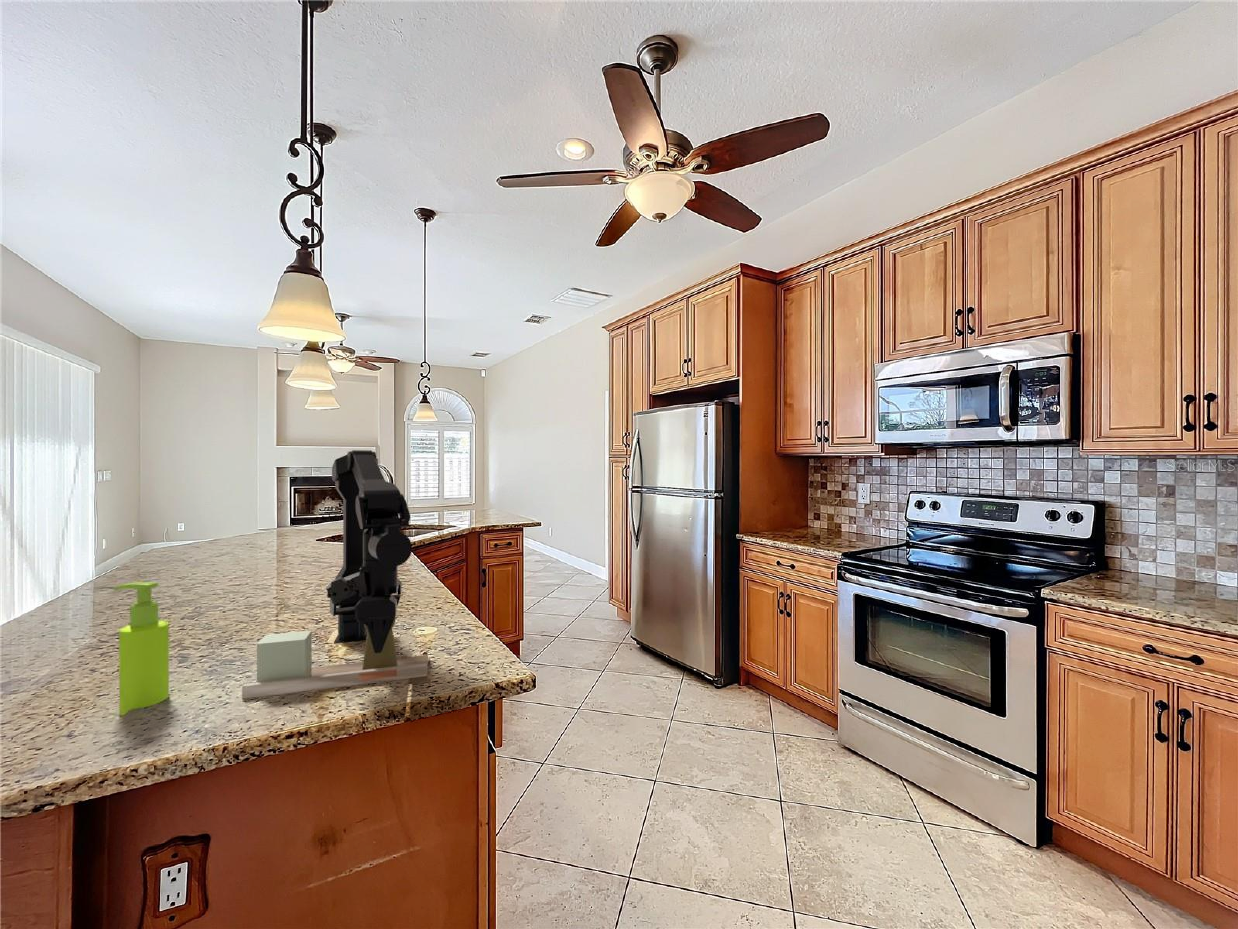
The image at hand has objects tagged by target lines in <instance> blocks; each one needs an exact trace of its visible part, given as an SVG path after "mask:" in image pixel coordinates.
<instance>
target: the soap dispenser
mask: <svg viewBox="0 0 1238 929" xmlns="http://www.w3.org/2000/svg"><path fill="white" fill-rule="evenodd" d="M156 587H159V582H157V581H156V582H155V581H153V582H152V581H135V582H134V581H133V582H130V583H125V584H120V585H118V586H117V585H116V586H114V587H113V588H112V590H114V591H117V590H123V589H136V595H137V596H136V599H137V600H136V602H134V603H133V604H130V606H129V624H128V625H126V626H124V627H122V628H119V630H118V632H119V633H118V635H119V636H118V637H119V638H118V643H119V644H118V652H119V653H118V659H119V664H118V666H119V673H118V674H119V678H118V679H119V682H118V683H119V685H118V686H119V688H118V691H119V698H118V700H119V704H118V705H119V715H120V716H121V717H124V715H125V714H127V713H129V712H130V711H132V710H137V709H142V708H146V707H150V706H151V707H152V706H153V705H156V704H159V703H161V702H163V701H165V700H167V699H168V698H169V696H170V693H169V692H170V691H169V690H170V686H169V685H170V684H169V683H170V680H169V678H170V677H169V676H170V666H169V660H170V658H169V656H170V655H169V654H170V649H169V648H170V646H169V641H170V640H169V638H170V637H169V636H170V635H169V633H170V630H169V628H170V627H169V622H168V621H165V620H159V601H155V600H152V589H153V588H156Z"/></svg>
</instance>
